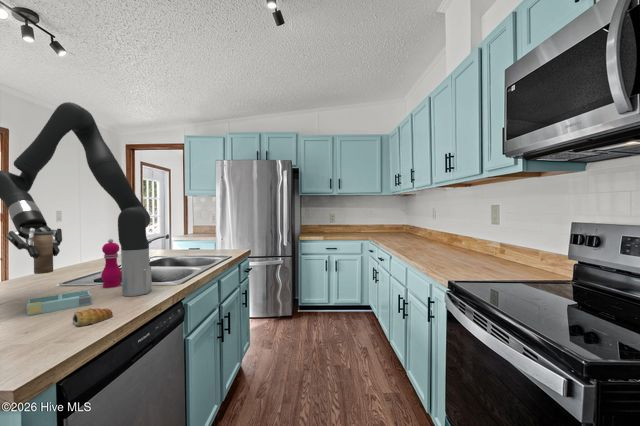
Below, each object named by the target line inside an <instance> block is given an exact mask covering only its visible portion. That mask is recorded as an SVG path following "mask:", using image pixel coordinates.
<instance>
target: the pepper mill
mask: <svg viewBox="0 0 640 426" xmlns="http://www.w3.org/2000/svg"><path fill="white" fill-rule="evenodd" d="M101 249H102V250H101V251H102V252H103V258H104V259H105V265H104V268H103V270H102V271H101V276H100V279H101V280H102V281H103V282H102V287H103V288H105V289H108V288H110V289H111V288H115V287H120V286H122V280H121V279H122V269H121V268H120V266H119V265H118V258H119V253H118V252H119V251H120V246H119V244H118V243H116V242H114V239H112V238H109V239H108V240H107V243H105V244H104V245H102V248H101ZM119 285H120V286H119Z"/></svg>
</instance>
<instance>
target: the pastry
mask: <svg viewBox="0 0 640 426" xmlns="http://www.w3.org/2000/svg"><path fill="white" fill-rule="evenodd" d="M113 314H114V313H113V311H112V310H111V309H110V308H98V307H97V308H91V307H90V308H88V309H83V310H80V311H75V312H74V313H73V315H72V322H73V324H72V325H75V326H78V327H84V326H88V325H90V324H92V325H94V324H96V323H100V322H103V321H106V320H108V319H109V318H112V317H113Z"/></svg>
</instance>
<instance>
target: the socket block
mask: <svg viewBox="0 0 640 426" xmlns="http://www.w3.org/2000/svg"><path fill="white" fill-rule="evenodd" d="M89 305H90V306H91V305H92V294H91V292H90V290H89V289H86V290H85V289H84V290H79V291H71V292H65V293H59V294H53V295H47V296H46V295H45V296H39V297H33V298H28V299H27V304H26V316H27V317H29V316H34V315H41V314H46V313H51V312H57V311H62V310H63V311H64V310H68V309H73V308H78V307H83V306H89Z"/></svg>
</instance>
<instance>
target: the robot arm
mask: <svg viewBox="0 0 640 426" xmlns="http://www.w3.org/2000/svg"><path fill="white" fill-rule="evenodd" d="M71 131H72V132H73V133H74V135H75V136H76V138H77V139H78V140H79V142H80V144H81V145H82V147H83V150H84V152H85V159H86V164H87V166H88V168H89V170H90V171H91V173H92V175H93V176H94V178H95V180H96V181H97V183H98V184H99V186H100V187H101V188H102V189H103V190H104V191H105V192H106V193H107V194H108V195H109V196H110V197H111V198H112V199H113V200H114V201H115V203H116V204H117V206H118V208H119V210H120V213H119V214H118V216H117V233H118V234H117V235H118V242H119V244H120V256H121V257H120V259H121V261H120V262H121V272H122V276H121V292H122V296H123V297H135V296H136V297H137V296H141V295H147V294H149V293H150V292H151V291H152V290H153V289H152V288H153V287H152V286H153V285H152V284H153V282H152V266H150V241H149V240H148V239H147V227H149V225H150V223H151V216H150V214H149V212H148V210H147V208H146V207H145V206H144V204H142V202H141V201H140V199H139V198H138V197H137V194H136V193H135V192H134V190H133V188H132V186H131V184H130V182H129V179H128V178H127V176H126V174H125V173H124V171H123V169H122V167H121V165H120V164H119V161H118V160H117V159H116V157H115V155H114V154H113V152H112V150H111V149H110V148H109V146H108V144H107V143H106V142H105V139H104V138H103V136H102V134H101V132H100V130H99V128H98V125H97V123H96V119H95V118H94V116H93V115H92V113H91V112H89V110H87V109H85V108H84V107H83V106H80V105H79V104H77V103H75V102H71V101H68V102H67V101H66V102H63V103H60V104H59V105H58V106H57V107H56V109H54V112H53V113H52V114H51V115H50V117H49V119H48V121H47V122H46V123H45V125H44V126H43V128H42V129H41V131H40V132H39V134H38V135H37V136H36V137H35V138H34V140H32V142H31V143H30V145H28V147H27V148H25V150H24V151H23V152H21V154H19V155H18V157H17V158H16V159H15V160H14V161H13V166H14V167H15V169H18V171H20V172H21V173H20V175H18V174H15V173H12V172H10V171H6V170H0V200H1V201H2V202H3V203H4V204H5V206H6V208H7V210H8V214H9V217H10V220H11V222H12V223H13V225H14V227H15V229H16V231H13V230H10V231H9V232H8V233H7V236H6V239H7V240H8V241H9V242H10V243H11V244H12V245H13V246H14V247H15V248H16V249H17V250H19V251H20V250H26V251H27V252H28V255H29V257H31V258H32V259H33V260H34V259H35V258H37V257H38V255H39V253H38V251H37V249H36V247H35V246H34V243H33V232H53V257H57V256H58V255H59V253H60V251H61V250H60V248H59V246H61V243H62V242H63V232H62V231H63V230H62V229H61V228H57V229H52V228H50V227H49V226H48V223H47V221H46V219H45V217H44V215H43V213H42V211H41V210H40V207H39V206H38V205H37V203H36V202H35V200H34V199H33V197H32V195H31V193H29V192H30V190H31V189H32V186H33V184H34V183H35V180H36V179H37V176H38V174H39V172H40V171H41V170H43V168H44V167H45V166H46V165H47V164H48V163H49V162H50V161H51V159H52V158H53V156H54V154H55V152H56V150H57V148H58V145H59V144H60V142H61V140H62V139H63V138H64V137H65V136H66V135H67V134H68V133H70V132H71ZM23 239H24V240H25V241H24V240H23Z"/></svg>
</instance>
